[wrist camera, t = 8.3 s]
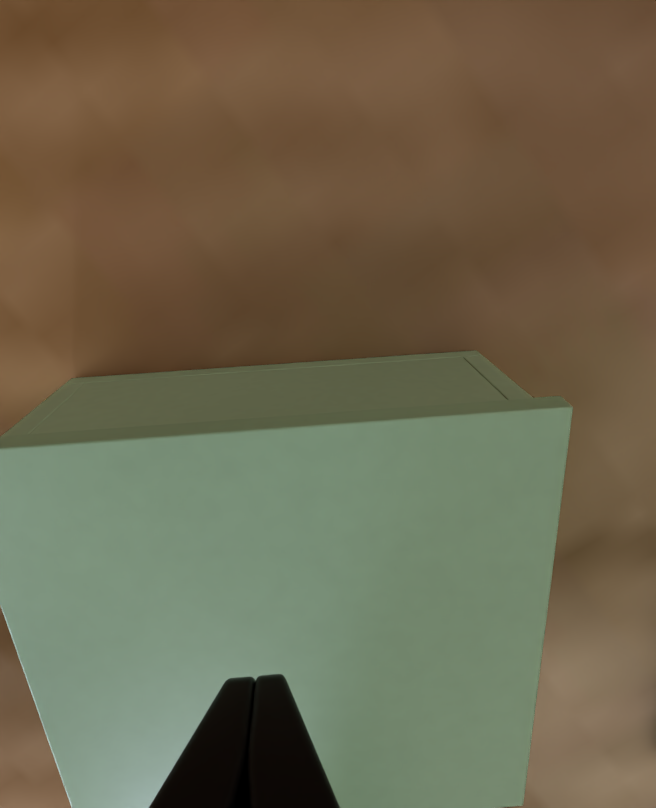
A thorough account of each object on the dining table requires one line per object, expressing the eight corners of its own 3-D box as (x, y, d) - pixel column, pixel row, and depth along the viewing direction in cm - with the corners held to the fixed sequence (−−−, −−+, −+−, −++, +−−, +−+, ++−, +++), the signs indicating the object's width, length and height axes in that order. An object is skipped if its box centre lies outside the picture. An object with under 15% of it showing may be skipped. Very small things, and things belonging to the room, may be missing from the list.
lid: (-38, 438, 13) (-55, 452, 13) (561, 394, 14) (574, 406, 13) (91, 825, 19) (85, 848, 18) (515, 784, 19) (523, 805, 19)
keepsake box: (71, 377, 20) (-12, 445, 14) (477, 349, 20) (543, 405, 15) (136, 685, 24) (92, 823, 19) (467, 656, 25) (515, 783, 19)
